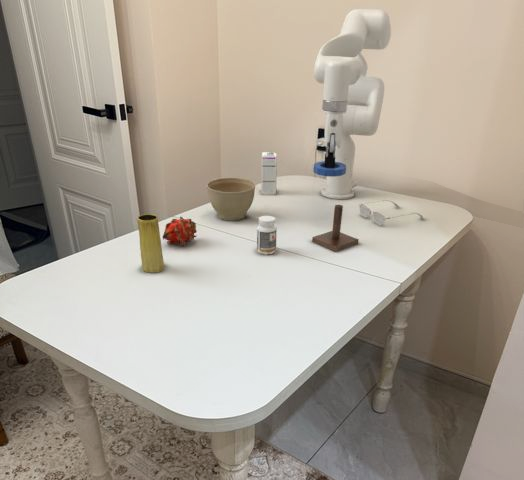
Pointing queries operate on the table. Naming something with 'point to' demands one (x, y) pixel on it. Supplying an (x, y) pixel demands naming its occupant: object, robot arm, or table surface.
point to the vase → (150, 243)
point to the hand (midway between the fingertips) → (329, 167)
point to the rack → (335, 234)
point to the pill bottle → (266, 235)
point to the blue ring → (329, 169)
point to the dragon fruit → (179, 231)
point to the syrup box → (269, 173)
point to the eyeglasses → (378, 216)
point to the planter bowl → (231, 197)
